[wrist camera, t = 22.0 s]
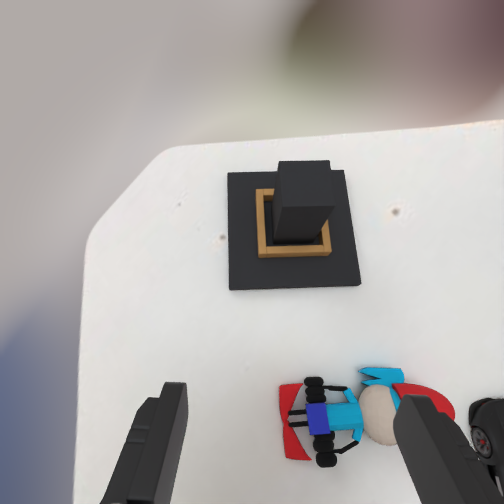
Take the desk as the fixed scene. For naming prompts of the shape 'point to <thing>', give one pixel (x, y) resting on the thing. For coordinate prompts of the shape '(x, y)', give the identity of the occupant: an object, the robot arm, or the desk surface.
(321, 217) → the block
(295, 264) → the pad
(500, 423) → the toy car
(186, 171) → the desk surface
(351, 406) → the toy figure
